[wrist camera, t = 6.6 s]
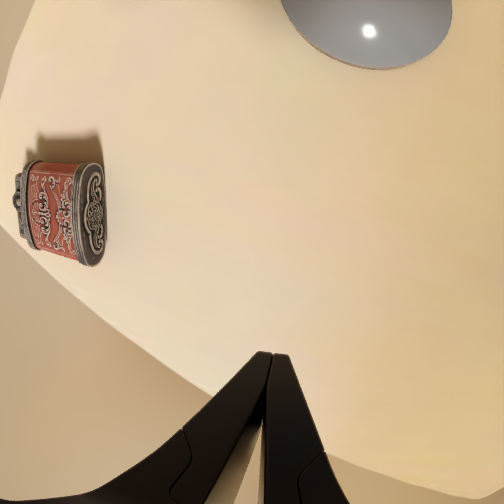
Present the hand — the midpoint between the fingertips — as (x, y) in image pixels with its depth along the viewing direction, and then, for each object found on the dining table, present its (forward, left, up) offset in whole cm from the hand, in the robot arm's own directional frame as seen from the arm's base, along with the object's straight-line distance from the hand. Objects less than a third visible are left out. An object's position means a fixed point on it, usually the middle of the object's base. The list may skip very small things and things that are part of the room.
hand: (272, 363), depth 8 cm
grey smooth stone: (+4, -14, -13) cm, 20 cm away
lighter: (+13, +7, -11) cm, 19 cm away
